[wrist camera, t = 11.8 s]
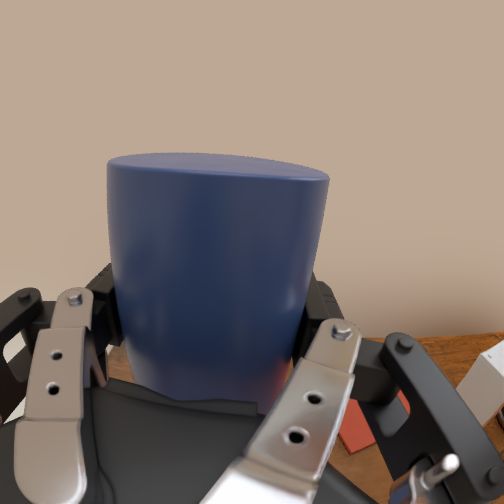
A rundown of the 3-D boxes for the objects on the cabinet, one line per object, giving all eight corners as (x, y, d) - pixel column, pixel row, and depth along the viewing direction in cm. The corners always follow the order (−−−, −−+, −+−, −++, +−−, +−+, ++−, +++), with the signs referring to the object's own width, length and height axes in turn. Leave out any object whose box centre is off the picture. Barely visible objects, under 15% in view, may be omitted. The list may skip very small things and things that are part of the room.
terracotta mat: (375, 362, 30) (376, 360, 30) (420, 418, 21) (422, 415, 21) (307, 381, 27) (308, 379, 27) (350, 454, 18) (351, 452, 18)
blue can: (224, 367, 16) (242, 154, 11) (292, 434, 12) (371, 182, 7) (132, 400, 12) (95, 155, 8) (187, 492, 8) (142, 179, 3)
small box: (449, 457, 16) (514, 390, 12) (425, 422, 21) (479, 352, 17) (484, 427, 18) (537, 363, 14) (463, 399, 23) (508, 334, 18)
